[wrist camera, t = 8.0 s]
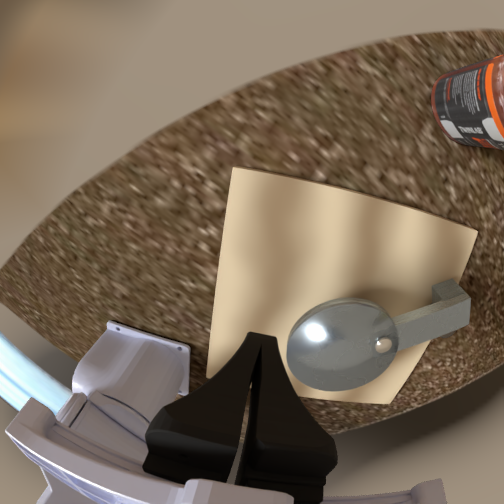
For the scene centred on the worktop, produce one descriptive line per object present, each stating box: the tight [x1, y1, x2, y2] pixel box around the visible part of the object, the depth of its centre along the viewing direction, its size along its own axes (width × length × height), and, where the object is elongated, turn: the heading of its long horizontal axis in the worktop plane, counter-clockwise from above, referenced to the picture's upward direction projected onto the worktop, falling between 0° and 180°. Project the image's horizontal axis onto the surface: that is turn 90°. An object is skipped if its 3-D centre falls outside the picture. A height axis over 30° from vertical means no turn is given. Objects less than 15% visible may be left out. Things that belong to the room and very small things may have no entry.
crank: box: [286, 278, 471, 392], centre depth 19 cm, size 14×8×4 cm, turn 110°
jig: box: [206, 166, 478, 404], centre depth 21 cm, size 20×20×4 cm
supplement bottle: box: [431, 55, 504, 150], centre depth 10 cm, size 6×6×11 cm
